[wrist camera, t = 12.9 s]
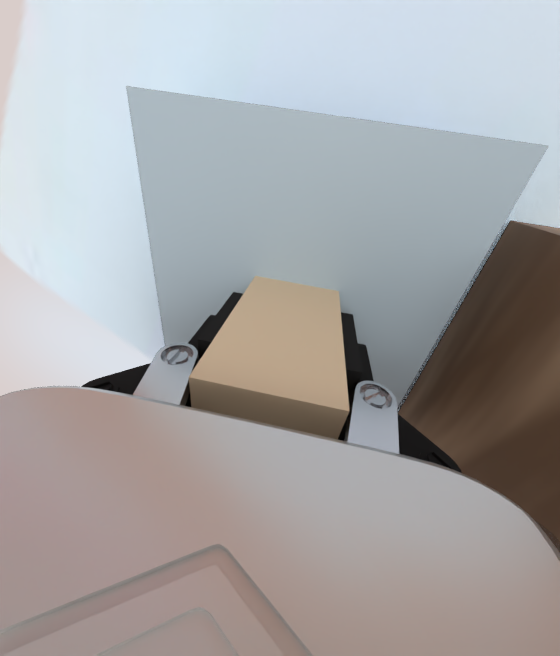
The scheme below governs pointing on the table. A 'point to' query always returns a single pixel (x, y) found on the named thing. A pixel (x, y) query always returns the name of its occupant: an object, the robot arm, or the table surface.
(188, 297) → the lid
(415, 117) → the table surface
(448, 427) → the crate
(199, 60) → the table surface
